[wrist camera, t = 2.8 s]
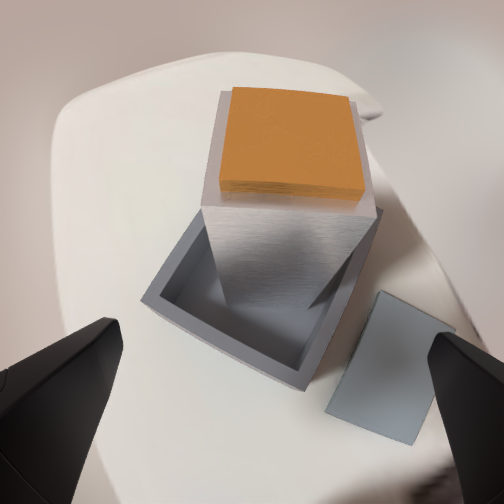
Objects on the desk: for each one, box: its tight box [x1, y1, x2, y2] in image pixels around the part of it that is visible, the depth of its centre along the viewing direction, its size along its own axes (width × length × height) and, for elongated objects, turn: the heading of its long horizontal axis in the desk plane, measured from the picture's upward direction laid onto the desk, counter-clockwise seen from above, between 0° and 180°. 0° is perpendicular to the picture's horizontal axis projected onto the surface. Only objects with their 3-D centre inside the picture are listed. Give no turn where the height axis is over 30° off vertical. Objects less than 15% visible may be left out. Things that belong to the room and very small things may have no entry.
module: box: [201, 87, 377, 310], centre depth 15 cm, size 5×5×13 cm
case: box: [140, 207, 383, 392], centre depth 20 cm, size 12×10×4 cm
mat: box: [325, 291, 456, 446], centre depth 19 cm, size 9×7×1 cm
